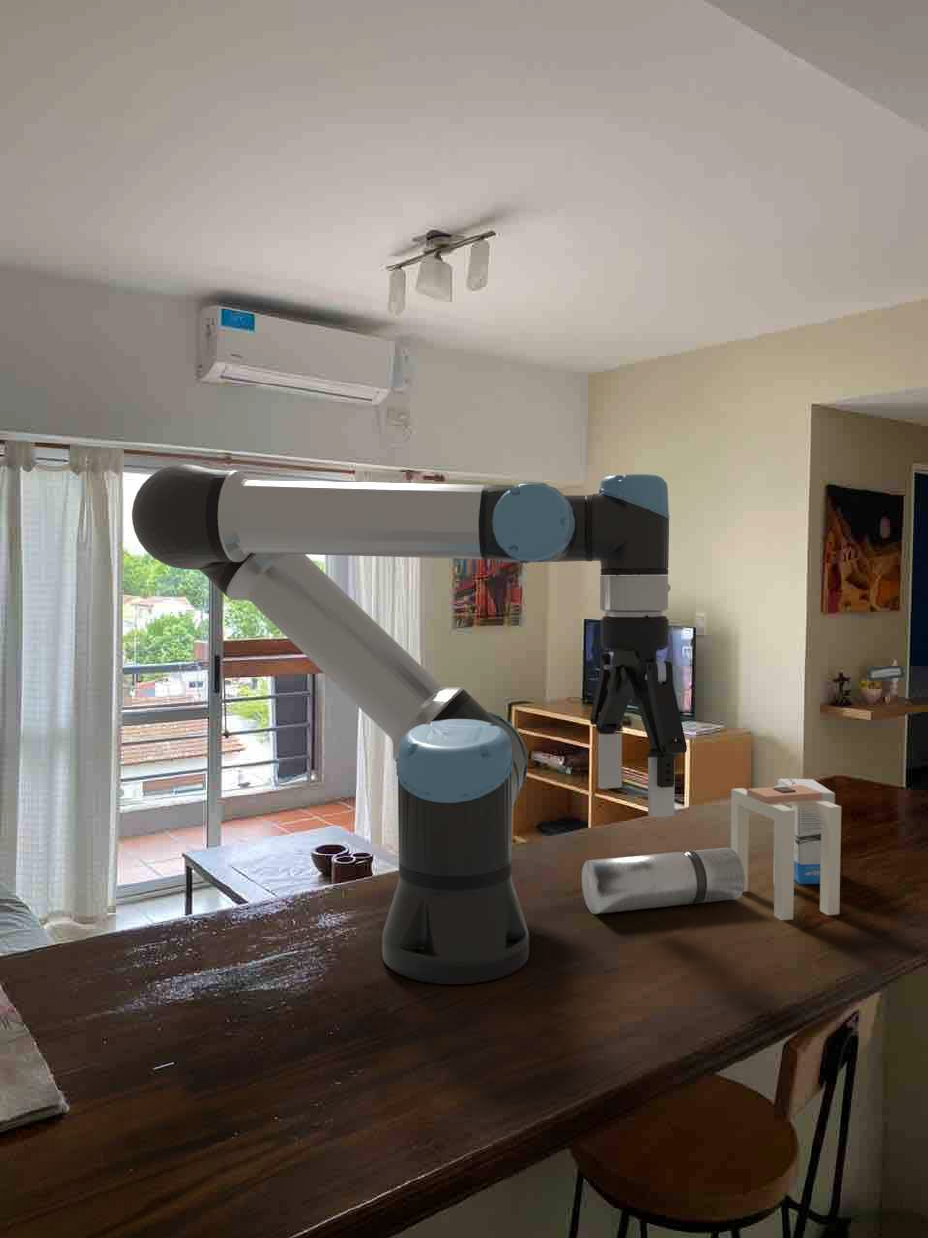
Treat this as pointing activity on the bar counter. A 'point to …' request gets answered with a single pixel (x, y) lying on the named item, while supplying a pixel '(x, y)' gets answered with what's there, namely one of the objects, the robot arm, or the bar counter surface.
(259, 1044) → the bar counter surface
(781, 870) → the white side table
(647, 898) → the silver metal cylinder
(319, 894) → the bar counter surface
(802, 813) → the ink box
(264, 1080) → the bar counter surface
